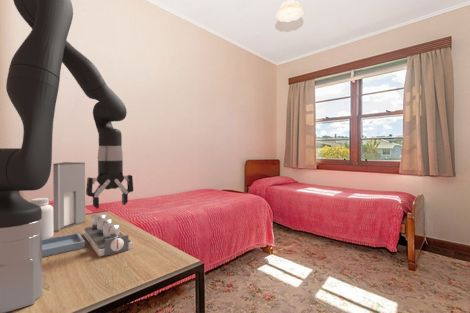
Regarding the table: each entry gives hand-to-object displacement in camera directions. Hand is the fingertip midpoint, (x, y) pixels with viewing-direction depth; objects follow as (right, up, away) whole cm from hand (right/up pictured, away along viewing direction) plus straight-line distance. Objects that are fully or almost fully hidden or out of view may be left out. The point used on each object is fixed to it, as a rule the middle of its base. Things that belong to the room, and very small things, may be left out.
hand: (111, 206), depth 83 cm
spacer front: (0, -12, 0) cm, 12 cm away
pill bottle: (-31, -14, +8) cm, 35 cm away
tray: (-17, -14, 0) cm, 22 cm away
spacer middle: (-6, -11, +7) cm, 14 cm away
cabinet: (-31, -14, +27) cm, 44 cm away
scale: (-5, -14, +6) cm, 16 cm away
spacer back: (-12, -11, +13) cm, 21 cm away
